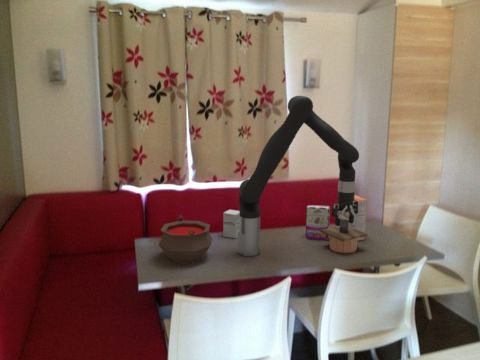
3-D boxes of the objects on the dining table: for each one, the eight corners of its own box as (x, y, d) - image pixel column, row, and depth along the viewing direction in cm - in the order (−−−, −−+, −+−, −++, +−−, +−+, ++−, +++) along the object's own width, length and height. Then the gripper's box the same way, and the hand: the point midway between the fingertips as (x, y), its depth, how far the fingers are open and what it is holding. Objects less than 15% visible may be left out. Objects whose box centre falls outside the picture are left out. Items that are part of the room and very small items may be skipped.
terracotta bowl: (342, 254, 187) (343, 239, 186) (324, 246, 197) (325, 232, 196) (361, 249, 193) (362, 235, 192) (343, 242, 203) (343, 228, 202)
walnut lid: (343, 241, 184) (343, 227, 183) (320, 231, 197) (321, 218, 195) (367, 235, 191) (368, 222, 190) (344, 227, 204) (344, 214, 203)
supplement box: (222, 236, 210) (222, 212, 208) (229, 232, 217) (229, 209, 214) (235, 239, 207) (235, 214, 204) (242, 234, 213) (242, 210, 211)
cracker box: (339, 232, 217) (341, 193, 213) (349, 231, 219) (351, 193, 215) (354, 241, 204) (357, 200, 200) (365, 240, 206) (367, 199, 202)
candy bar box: (328, 237, 210) (330, 206, 207) (327, 240, 205) (329, 208, 202) (306, 235, 213) (307, 204, 210) (305, 238, 208) (306, 206, 205)
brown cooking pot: (154, 251, 190) (153, 216, 187) (205, 245, 198) (204, 211, 195) (164, 271, 168) (163, 232, 165) (220, 263, 176) (220, 226, 173)
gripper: (340, 193, 183) (338, 228, 186) (363, 190, 190) (361, 224, 193) (328, 190, 189) (327, 224, 193) (351, 187, 197) (349, 220, 200)
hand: (344, 224), depth 193 cm, fingers open, 8 cm apart
